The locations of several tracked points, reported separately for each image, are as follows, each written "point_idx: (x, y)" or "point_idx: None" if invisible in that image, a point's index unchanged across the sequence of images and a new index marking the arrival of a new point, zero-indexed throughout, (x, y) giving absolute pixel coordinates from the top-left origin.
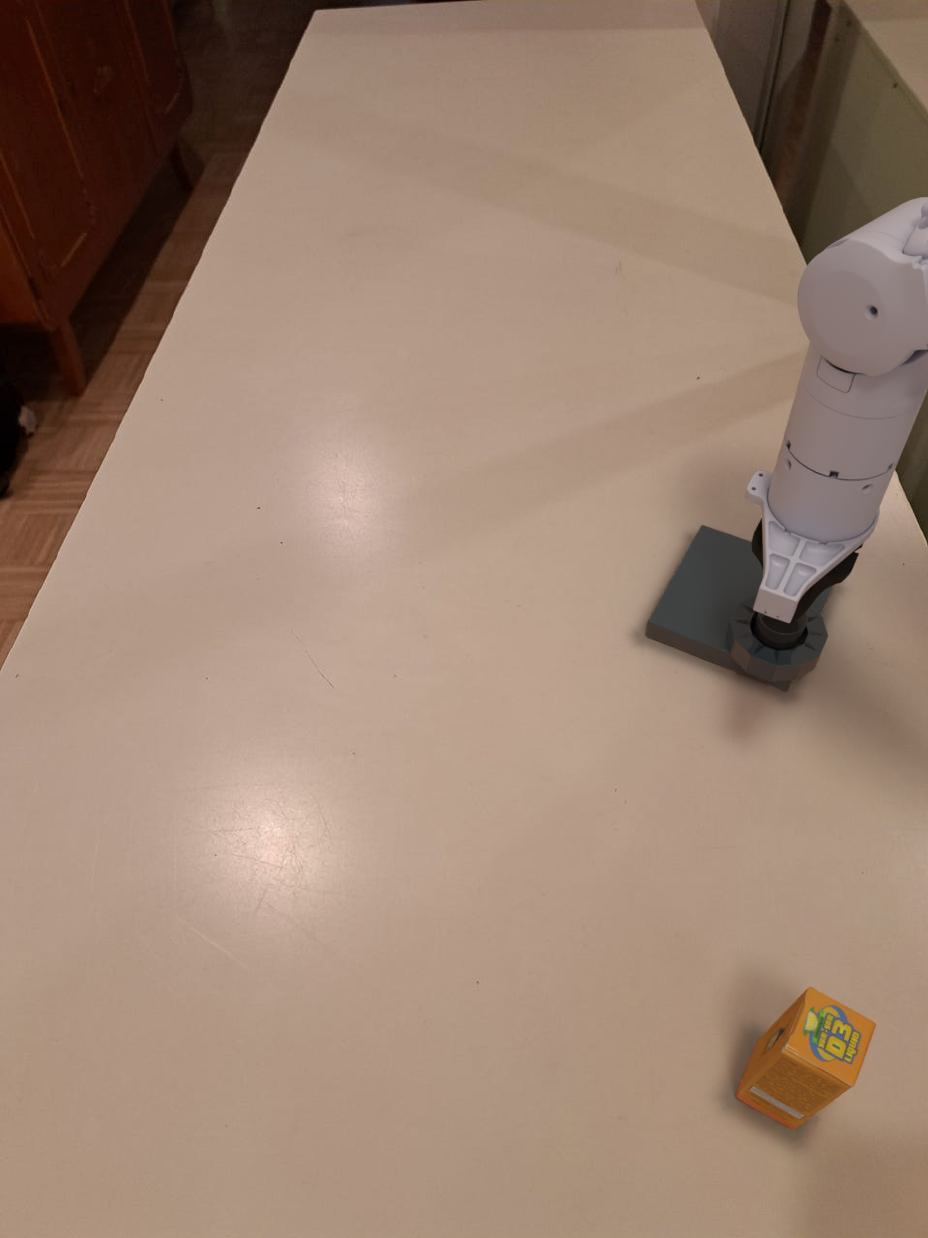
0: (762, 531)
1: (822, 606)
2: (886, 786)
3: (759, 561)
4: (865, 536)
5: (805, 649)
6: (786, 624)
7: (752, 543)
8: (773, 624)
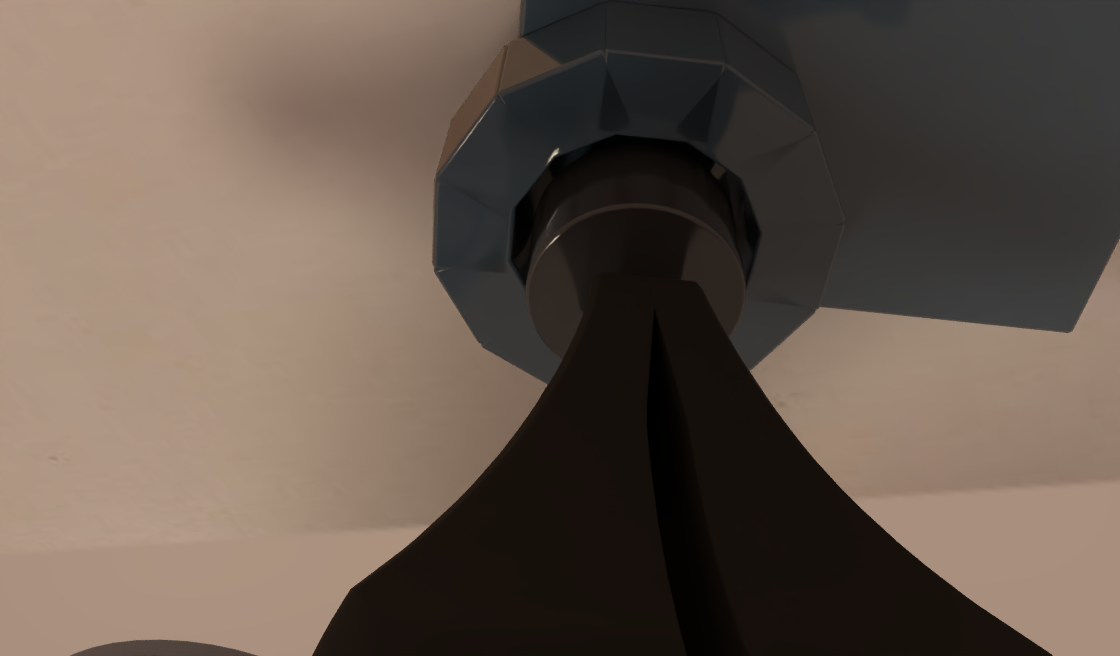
0: None
1: (874, 309)
2: (321, 477)
3: (421, 534)
4: None
5: None
6: None
7: (359, 642)
8: (564, 275)
